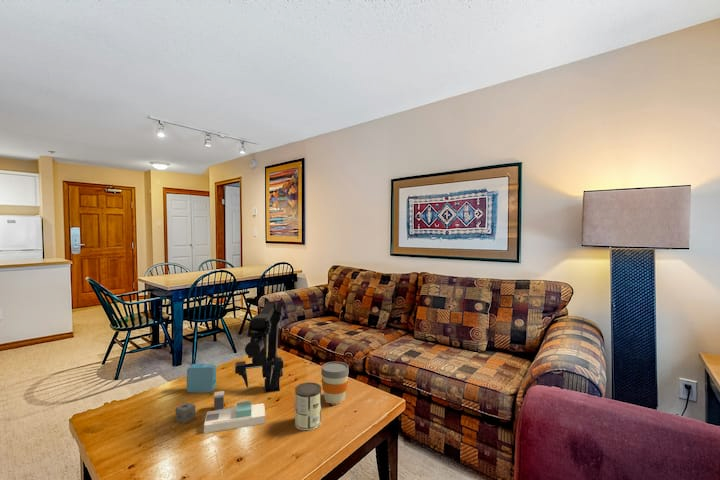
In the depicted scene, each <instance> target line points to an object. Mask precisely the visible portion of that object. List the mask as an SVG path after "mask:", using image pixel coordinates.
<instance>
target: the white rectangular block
mask: <svg viewBox="0 0 720 480" xmlns="http://www.w3.org/2000/svg"><path fill="white" fill-rule="evenodd" d="M224 407H225V390H221V391H215V392H214V395H213V411H215V410H219V409H225V408H224Z"/></svg>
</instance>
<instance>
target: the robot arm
mask: <svg viewBox="0 0 720 480" xmlns="http://www.w3.org/2000/svg"><path fill="white" fill-rule="evenodd" d="M283 307H284V306H282V305H281V304H279V303H277V301H270V300H269V301H265V302H264V306H263V307H262V310H260V313H259V314H257V315H254V316H253V317H252V318H251V320H250V321H249V325H248V330H247V335H246V337H247V338H250V339H249V342H247V344H246V345H245V347H244V352H245V354H246V356H247V358H248V359H251V363H247V362H246V360H244V361H243V360H242V361H236V362H235V365H234V371H235V372H234V374H237V375H238V376H241V377H242V379H243V381H244V385H245V386H246V389H248V388H249V383H248V382H249V381H248V374H247V370H249V369H256V368H257V369H258V368H262V369H261V372H262V373H261V374H262V378H263V379H264V384H263V385H264V386H263V387H264V390H265V392H266V393H270V392H278V391H281V387H280V380H281V379H280V378H282V377H283V376H284V371H283V369H284V360H283V358H282V357H281V356H280V357H279V356H278V342H279V341H278V340H279V324H280V322H281V321H282V319H283V316H284V308H283Z"/></svg>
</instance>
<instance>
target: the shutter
mask: <svg viewBox="0 0 720 480" xmlns="http://www.w3.org/2000/svg"><path fill="white" fill-rule="evenodd" d="M251 405H252V400H247V401H241V402H236V407H237V411H236V418H240V417H246V416H251Z"/></svg>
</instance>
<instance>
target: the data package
mask: <svg viewBox="0 0 720 480" xmlns="http://www.w3.org/2000/svg"><path fill="white" fill-rule="evenodd" d="M216 387H217V365H216V364H215V363H192V364H191V365H190V366H189V367H187V369H186V391H187V392H188V393H191V394H192V393H195V394H196V393H197V394H200V393H201V394H202V393H203V394H205V393H208V394H209V393H212V392H213V390H215V388H216Z"/></svg>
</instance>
